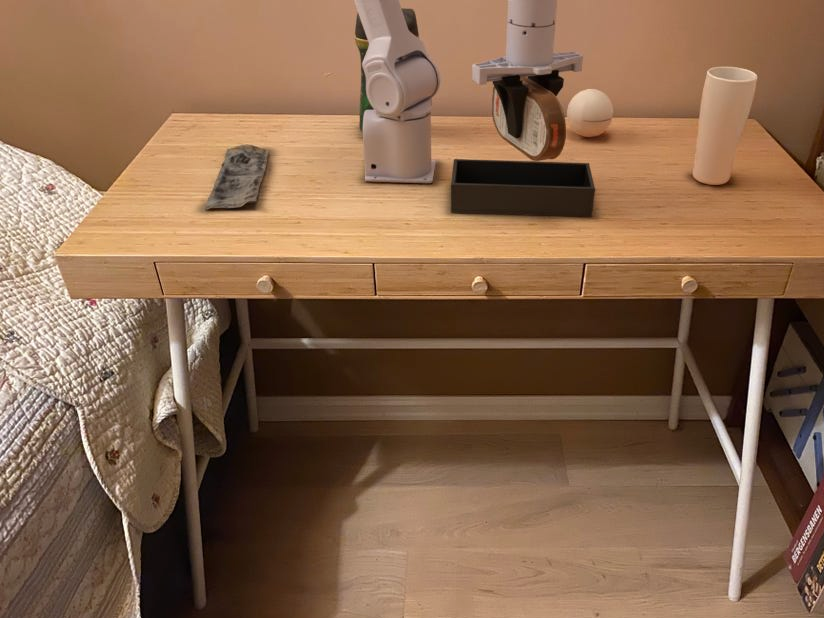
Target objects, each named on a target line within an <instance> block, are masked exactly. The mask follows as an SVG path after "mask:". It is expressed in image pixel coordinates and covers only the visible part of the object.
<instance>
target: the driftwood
mask: <svg viewBox="0 0 824 618" xmlns="http://www.w3.org/2000/svg"><path fill="white" fill-rule="evenodd" d="M269 155H270V153H269V151H268V150H267V149H266V148H262V147H258V146H256V145H253V144H240V145H236V146H234V147H230V148H226V152H225V154H224V161H223V162H222V163H221V164H220V165H221V167H220V169H219V171H218V173H217V176H216V179H215V181H214V183H213V187H212V190H211V191H210V194H209V196H208V198H207V201H206V204H205V206H204V210H205V211H207V210H210V209H217V208H218V209H234V208H241V207H243V206H245V204H247V203H249V204H250V203H257V202H258V199H257V197H258V195H259V190H260V186H261V183H262V180H263V179H264V174H265V172H266V167H267V165H268V164H267V163H268V156H269Z"/></svg>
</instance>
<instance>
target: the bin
mask: <svg viewBox="0 0 824 618" xmlns="http://www.w3.org/2000/svg"><path fill="white" fill-rule="evenodd" d="M450 180H451V181H450V213H451V214H478V215H507V216H508V215H511V216H538V217H539V216H541V217H543V216H544V217H545V216H546V217H574V218H575V217H577V218H578V217H579V218H593V211H594V204H595V194H596V187H595V181H594V178H593V173H592V169H591V166H590V163H589V162H570V161H569V162H568V161H563V162H562V161H534V160H500V159H499V160H497V159H468V158H467V159H466V158H465V159H464V158H453V163H452V172H451V179H450Z"/></svg>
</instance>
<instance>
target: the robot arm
mask: <svg viewBox="0 0 824 618" xmlns="http://www.w3.org/2000/svg"><path fill="white" fill-rule="evenodd" d="M353 1H354V6H355V7H356V10H357V13H359V16H360V19H361V22H362V25H363V28H364V31H365V33H366V36H367V39H368V42H369V47H368V50H367V52H366V55H365V58H364V60H363V63H362V67H363V70H364V73H365V76H366V94H367V97H368V100H369V102H370V104H371V106H372V107H373V108H374V109H373V110H365V112H364V117H363V133H362V145H363V147H362V148H363V161H364V173H365V174H364V181H365V182H374V183H404V184H405V183H409V184H410V183H411V184H432V183H433V182H434V175H435V169H436V163H437V160H436V159H435V158H432V112H431V111H432V106H433V97H435V96H436V95H437V93H439V90H440V86H441V75H440V71H439V68H438V66H437V64H436V63H435V61H434V60H433V59H432V58H431V57H430V55H429V53H428V52H427V49H426V47H425V46H426V45H425V44H424V41H422V39H420V37H419V38H418V37H416V36H415V35H413V34H412V33H411V32H410V31H409V30H408V27H407V24H406V21H405V18H404V15H403V12H402V9H401V8H402V7H401V3H400V0H353ZM557 8H558V0H507V17H506V37H505V38H506V39H505V41H506V42H505V55H504V56H501V57H498V58H494V59H490V60H486V61H483V62H478V63H473V64H472V65H471V81H473V82H474V83H476V84H477V85H478V86H483V85H487V84H488V83H489V82H492V85H493V87H495V89H496V91H497V93H498V95H499V98H500V100H501V103H502V106H503V109H504V113H505V117H506V122H507V128H508V134H510V135H511V136H513V137H514V138H520V136H521V132H522V118H523V109H524V104H525V100H526V96H527V93H528V91H529V88H528V87H526V86H524V85H522V81H520V77H527V78H529V79H530V80H532V81H534V82H535V83H537V84H539V85H540V86H542V87H544V88H545V89H547V90H549V91H550V92H552V93H553V94H554V95H555V96H556V97H557V96H558V95H559V93H560V92H561V90H562V89H563V88H564V84H565V83H564V82H565V79H564V77H562V76H560V75H559V74H560V73H564V72H571V71H572V72H574V73H579V72H582V70H583V61H584V55H583V54H580V53H578V52H577V51H567V52H566V51H565V52H564V51H563V52H554V47H555V34H556V33H555V31H556V21H557V10H558V9H557ZM396 59H397V60H398V61H397V62H395V61H396Z"/></svg>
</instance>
